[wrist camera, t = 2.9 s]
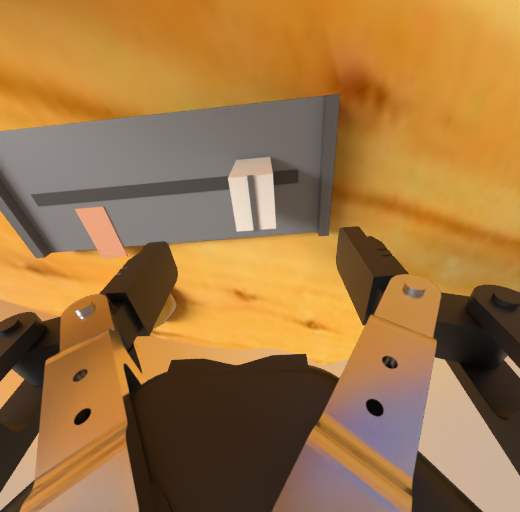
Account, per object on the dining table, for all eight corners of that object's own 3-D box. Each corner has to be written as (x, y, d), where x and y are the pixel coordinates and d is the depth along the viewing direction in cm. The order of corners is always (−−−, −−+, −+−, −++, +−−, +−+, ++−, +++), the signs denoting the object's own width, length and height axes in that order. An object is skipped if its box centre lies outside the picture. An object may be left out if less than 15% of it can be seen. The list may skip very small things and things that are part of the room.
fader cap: (242, 203, 23) (236, 233, 17) (236, 159, 20) (227, 177, 15) (272, 201, 22) (276, 229, 17) (270, 156, 20) (273, 173, 15)
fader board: (62, 252, 29) (42, 266, 26) (-18, 133, 21) (-55, 137, 19) (321, 232, 27) (327, 245, 24) (330, 95, 20) (340, 93, 17)
